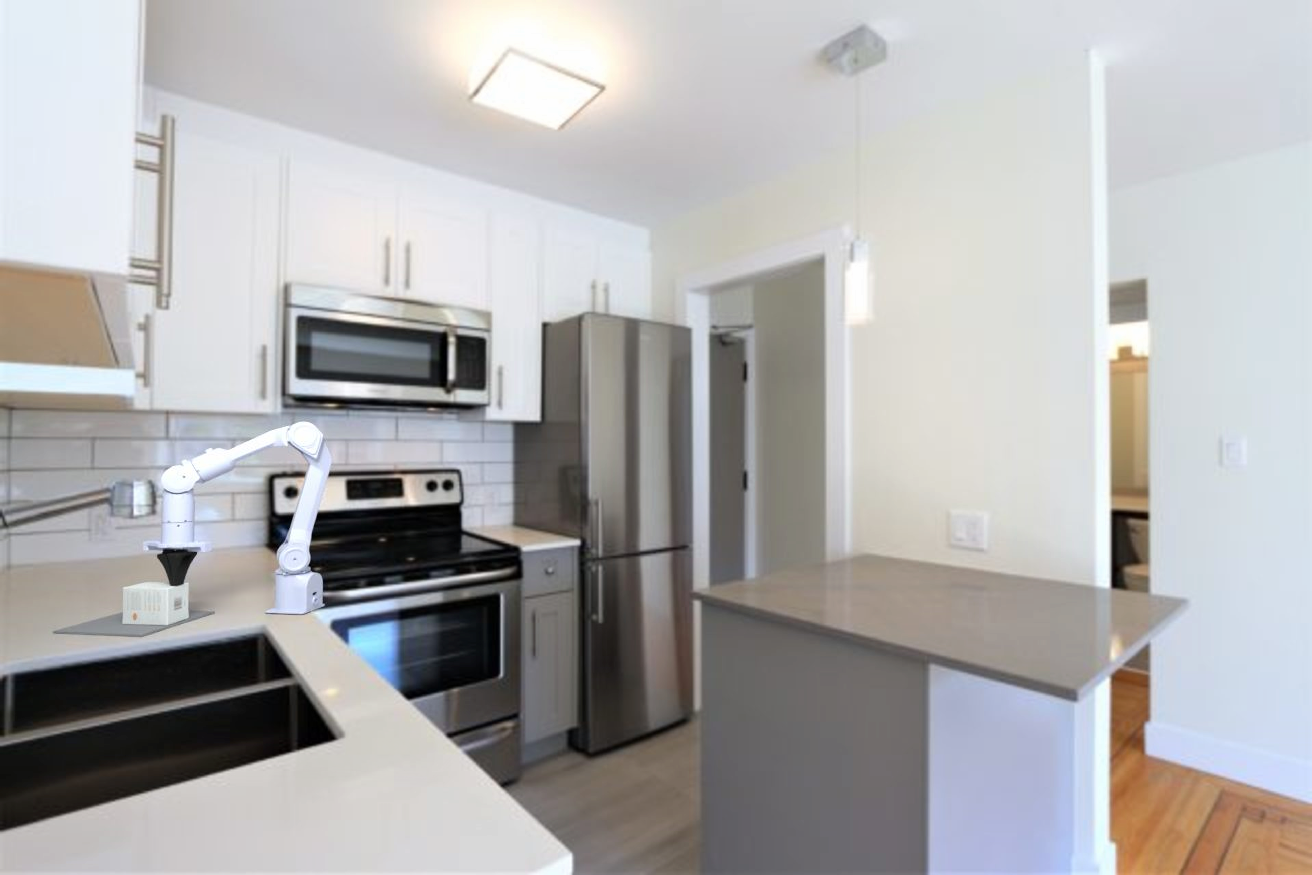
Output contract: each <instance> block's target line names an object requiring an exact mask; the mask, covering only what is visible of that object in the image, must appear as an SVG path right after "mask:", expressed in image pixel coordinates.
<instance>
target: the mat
mask: <svg viewBox="0 0 1312 875" xmlns="http://www.w3.org/2000/svg"><path fill="white" fill-rule="evenodd" d="M188 612H189V618H188V619H185V620H182V621H179V622H176V623H173V624H170V625H167V626H165V625H131V624H122V620H123V611H122V612H118V613H115V614H111V615H108V616H103V617H100V618H96V619H93V620H90V621H89V620H88V621H86V622H82V623H77V624H75V625H71V626H67V627H64V628H59V629H56V630H53V631H52V634H65V635H68V634H69V635H90V636H91V635H92V636H109V637H110V636H114V637H115V636H116V637H133V638H134V637H136V638H138V637H139V638H143V637H145V636H148V635H152V634H155V633H158V632H160V631H164V630H168V629H170V627H171V628H173V627H172V626H174V627H176V625H177V626H180V625H182V624H183V625H184V624H185V622H186V623H188V622H193V621H195V620H198V619H201V618H204V617H207V616H210V615H213V614H215V612H216V611H213V610H207V611H206V610H189V609H188ZM179 624H180V625H179ZM167 628H168V629H167Z"/></svg>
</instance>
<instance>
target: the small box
mask: <svg viewBox="0 0 1312 875" xmlns="http://www.w3.org/2000/svg"><path fill="white" fill-rule="evenodd" d="M189 587H190V583H189V582H184V583H183V584H181V585H177V586H170V583H169V581H168V582H167V581H163V582H162V581H161V582H160V581H159V582H158V581H144V582H141V583H136V584H132V585H129V586H124V587H122V612H123V620H122V624H131V625H165V626H167V625H170V624H173V623H176V622H179V621H182V620H185V619H188V618H189V612H188V610H189Z"/></svg>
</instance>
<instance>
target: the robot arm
mask: <svg viewBox="0 0 1312 875" xmlns="http://www.w3.org/2000/svg"><path fill="white" fill-rule="evenodd" d="M289 445H290V446H291V447H292V448H294V449H295V450H297V451H298V452H299V453H300V454H301V456H302V457H303V458H304V460H305V461H306V462H307V464H308V466H307V469H306V471H305V472H306V473H305V476H304V480H303V483H302V486H301V490H300V492H299V497H298V500H297V503H296V506H295V509H294V513H293V516H292V520H291V524H290V527H289V530H288V531H287V535H286V537H285V540H284V541H283V543H282V544H281V545H280V546H279V548H278V549H277V551H276V558H277V562H278V563H279V564H278V565H279V567H278V568H277V569H275V571H274V572H275V573H274V578H275V580H274V607H273V608H269V609H267V610H265V614H282V615H283V614H285V615H305V614H307V613H310V612H312V611H315V610H317V609H320V608H322V607H325V603H323V598H324V597H323V595H324V594H323V591H324V590H323V588H324V587H323V586H324V584H323V583H324V582H323V576H322V575H321V573H319V572H313V571H312V570H311V567H310V566H309V564H310V562H311V553H310V546H311V541H312V533H313V529H314V525H315V522H316V520H317V515H318V512H319V508H320V505H321V502H322V498H323V495H324V492H325V488H326V484H327V481H328V477H329V474H330V470H331V467H332V463H333V458H332V455H331V452H330V450H329V448H328V445H327V442H326V438H325V436H324V434H323V433H322V432H321V431H320V430H319V428H318V427H317V426H316V425H315V424H314V423H311V422H308V421H299V422H296V423H294V424H292V425H288V426H283V427H279V428H276V429H273V430H269V431H267V432H265V433H263V434H260V435H258V436H256V437H254V438H252V439H250V440H248V441H245V442H243V443H241V444H238V445H237V446H234V447H232V448H230V449H225V448H222V447H217V448H214V449H213V447H210V448H207V449H205V453H202V454H200V455H198V456H195V457H194V458H191V459H183V460H181V461H180V462H181V464H182V465H173V466H171V467H170V468H168V469H167V470H165V471H164V472H163V473H162V475H161V478H160V484H161V486H162V487H163V491H162V494H161V495H162V496H161V497H162V501H161V509H160V510H161V511H160V512H161V514H160V515H161V516H160V519H161V520H160V540H147V541H143V542H142V551H143V552H149V551H159V552H160V551H162V552H161V553H157V554H156V559H158V561H159V562H160V563H161V565H162V567H163V568H164V570H165V574H166V576H167V579H168V582H169V583H170V586H177V585H181V584H183V583H185V579H186V577H187V574H188V572H189V571H188V570H189V568H190V566H191V564H192V563H193V560H194V559H195V558H196V557H197V555H198V552H200V553H208V552H212V551H213V541H205V540H204V541H203V540H202V541H201V540H195V520H196V519H195V517H196V516H195V514H196V513H195V512H196V511H195V510H196V500H195V497H194V493H195V492H194V490H195V489H194V487H195V485H196V484H201V485H202V484H205V483H207V482H209V481H211V480H213V479H216V478H217V477H220V476H222V475H225V474H228V473H229V472H232V471H233V470H234V467H235V464H236V463H237V462H239V461H241V460H244V459H246V458H249V457H251V456H254V455H256V454H258V453H260V452H263V451H265V450H268V449H270V448H272V447H289Z"/></svg>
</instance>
